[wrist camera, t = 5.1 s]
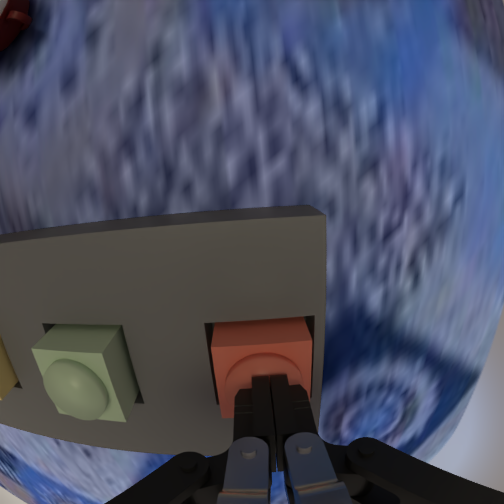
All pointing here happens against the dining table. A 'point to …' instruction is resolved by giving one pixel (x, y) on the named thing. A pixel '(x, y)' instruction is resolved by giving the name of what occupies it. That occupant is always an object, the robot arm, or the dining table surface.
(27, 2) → the cocoa
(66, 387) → the sage button
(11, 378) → the ochre button
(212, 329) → the panel
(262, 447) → the robot arm
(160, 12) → the dining table surface
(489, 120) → the dining table surface
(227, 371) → the red button
